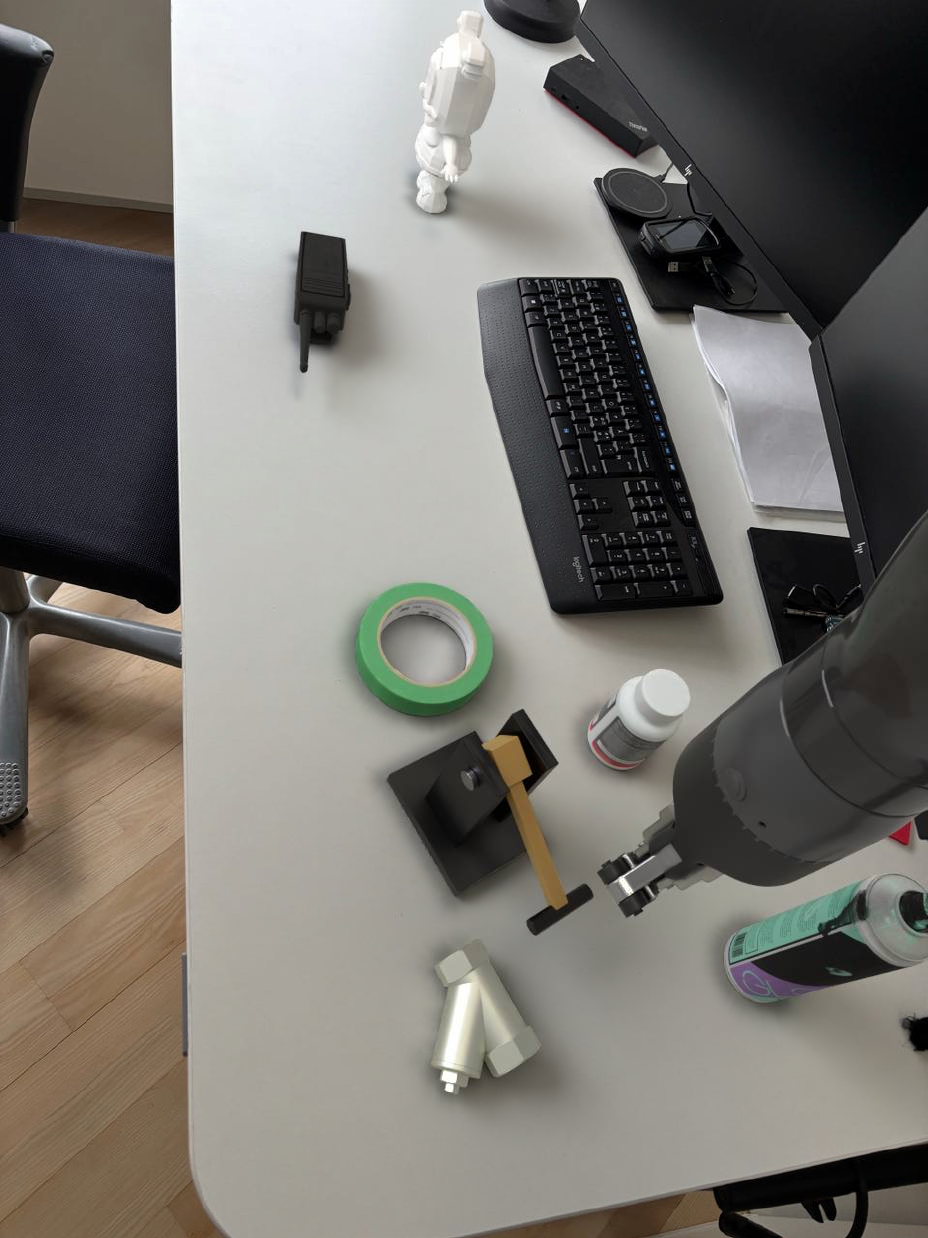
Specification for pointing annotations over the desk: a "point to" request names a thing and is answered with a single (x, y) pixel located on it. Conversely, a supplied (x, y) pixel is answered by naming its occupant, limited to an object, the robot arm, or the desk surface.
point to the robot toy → (453, 109)
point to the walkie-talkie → (320, 290)
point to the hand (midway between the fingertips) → (635, 878)
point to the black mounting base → (469, 802)
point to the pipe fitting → (477, 1021)
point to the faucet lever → (533, 835)
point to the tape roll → (409, 692)
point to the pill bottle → (639, 718)
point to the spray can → (832, 940)
